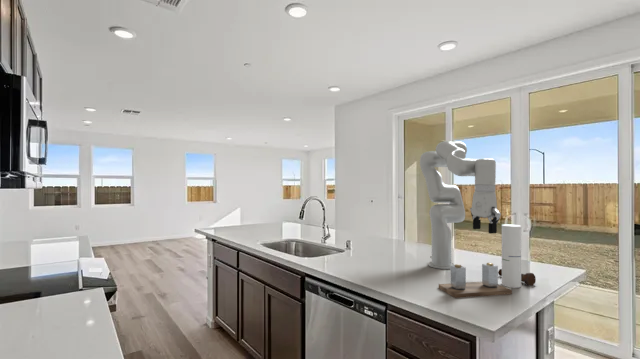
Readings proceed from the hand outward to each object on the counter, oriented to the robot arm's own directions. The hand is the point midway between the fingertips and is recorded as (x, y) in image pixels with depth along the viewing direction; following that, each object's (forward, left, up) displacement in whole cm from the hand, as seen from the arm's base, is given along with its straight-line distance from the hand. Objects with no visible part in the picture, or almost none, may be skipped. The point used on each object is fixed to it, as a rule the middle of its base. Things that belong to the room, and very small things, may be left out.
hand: (484, 231), depth 137 cm
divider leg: (+2, +1, -21) cm, 21 cm away
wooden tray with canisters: (+2, -6, -23) cm, 24 cm away
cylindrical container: (-2, +14, -24) cm, 27 cm away
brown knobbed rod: (-7, +20, -24) cm, 32 cm away
